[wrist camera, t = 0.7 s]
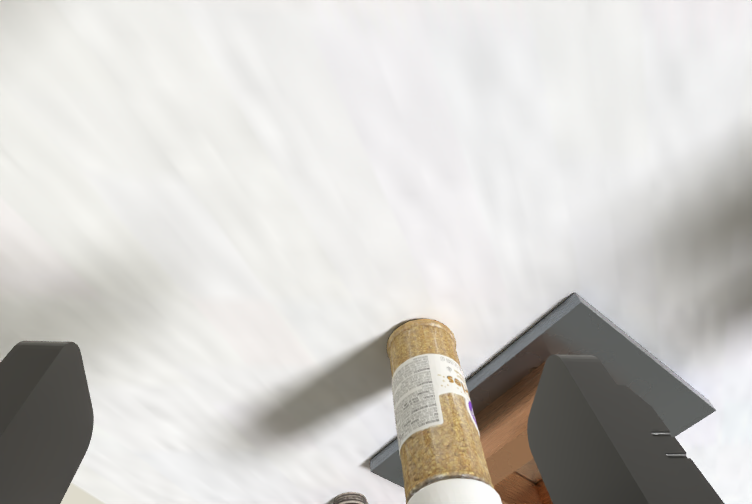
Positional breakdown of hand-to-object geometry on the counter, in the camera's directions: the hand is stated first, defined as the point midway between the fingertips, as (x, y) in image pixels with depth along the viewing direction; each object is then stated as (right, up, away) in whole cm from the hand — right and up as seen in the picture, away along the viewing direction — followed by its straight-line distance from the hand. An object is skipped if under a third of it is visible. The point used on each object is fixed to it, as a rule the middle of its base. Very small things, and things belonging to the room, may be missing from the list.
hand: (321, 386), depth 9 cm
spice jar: (+4, -3, +25) cm, 26 cm away
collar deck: (+13, -11, +30) cm, 35 cm away
